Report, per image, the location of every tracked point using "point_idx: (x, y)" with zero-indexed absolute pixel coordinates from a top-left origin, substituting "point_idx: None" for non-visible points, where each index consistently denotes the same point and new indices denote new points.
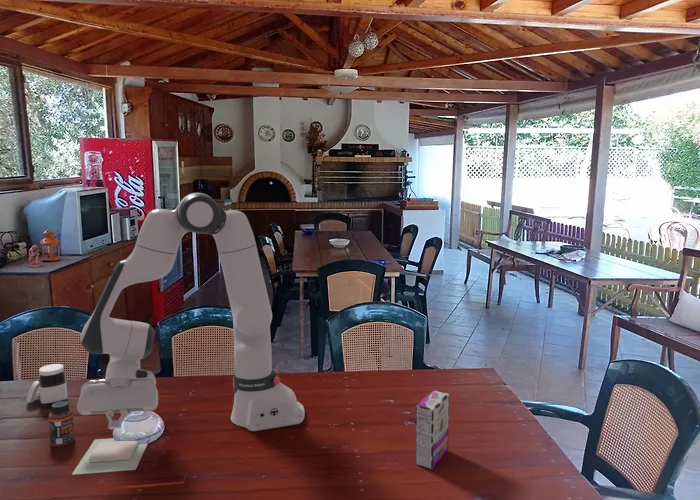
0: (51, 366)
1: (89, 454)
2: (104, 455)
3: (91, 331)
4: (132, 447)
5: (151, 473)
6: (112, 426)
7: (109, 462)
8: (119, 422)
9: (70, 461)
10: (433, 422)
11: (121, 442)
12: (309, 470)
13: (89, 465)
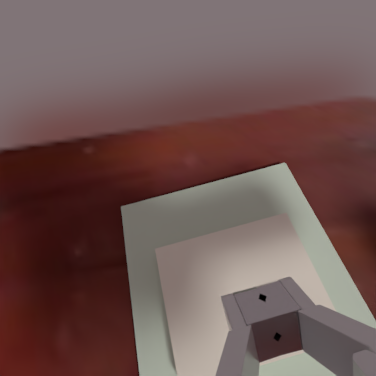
0: None
1: (327, 269)
2: (246, 238)
3: None
4: (171, 309)
5: (78, 206)
6: (264, 285)
7: (218, 230)
8: (231, 312)
9: (361, 231)
10: None
11: None
12: None
13: (270, 206)
